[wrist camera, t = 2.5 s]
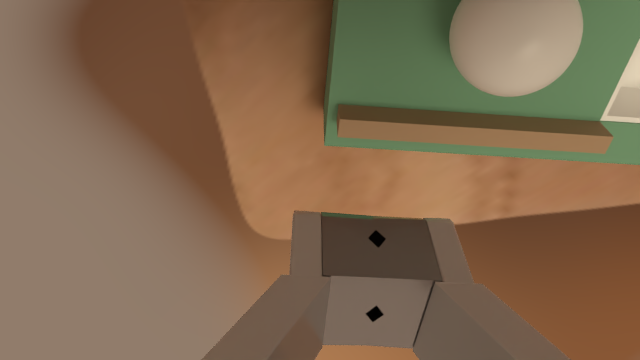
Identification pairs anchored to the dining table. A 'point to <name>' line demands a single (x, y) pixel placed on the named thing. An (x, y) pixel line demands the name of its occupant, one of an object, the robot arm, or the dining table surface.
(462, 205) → the dining table surface
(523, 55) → the ball
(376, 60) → the mini golf course
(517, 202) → the dining table surface
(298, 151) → the dining table surface
